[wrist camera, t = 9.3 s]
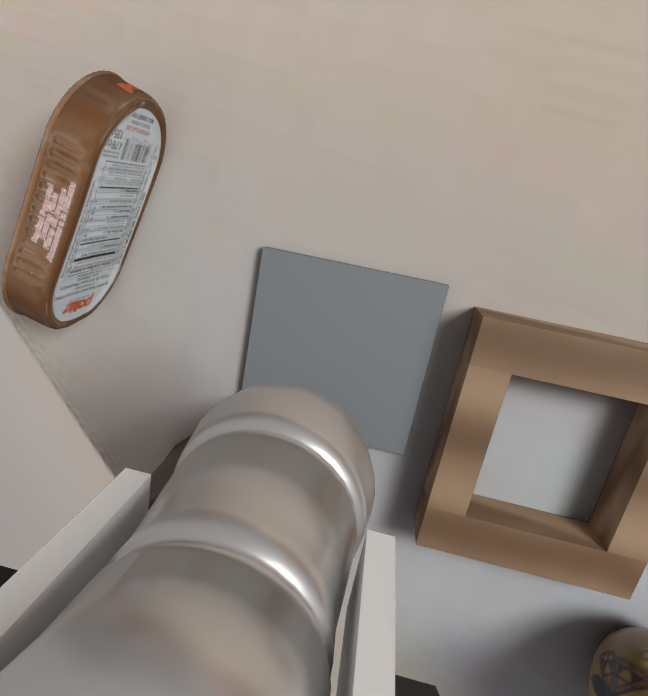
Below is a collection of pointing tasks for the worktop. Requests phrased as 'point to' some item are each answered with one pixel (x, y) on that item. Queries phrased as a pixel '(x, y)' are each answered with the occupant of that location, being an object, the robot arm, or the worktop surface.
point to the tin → (84, 200)
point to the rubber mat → (346, 338)
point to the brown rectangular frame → (521, 522)
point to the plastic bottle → (223, 564)
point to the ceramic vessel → (621, 664)
